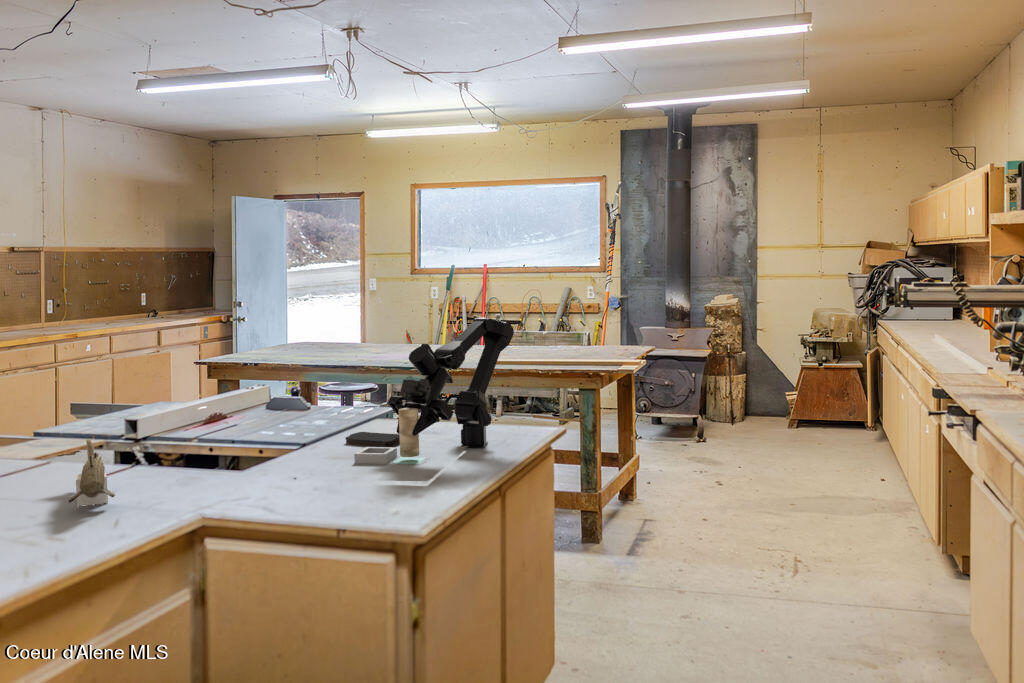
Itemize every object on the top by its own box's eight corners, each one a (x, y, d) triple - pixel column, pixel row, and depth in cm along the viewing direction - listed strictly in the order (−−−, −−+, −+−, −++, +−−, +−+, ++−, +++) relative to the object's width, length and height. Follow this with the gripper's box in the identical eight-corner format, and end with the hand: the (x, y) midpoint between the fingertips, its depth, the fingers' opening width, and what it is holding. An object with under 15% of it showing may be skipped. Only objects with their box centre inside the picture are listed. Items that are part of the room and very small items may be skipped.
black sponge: (405, 447, 239) (404, 434, 239) (388, 452, 231) (387, 439, 231) (359, 443, 246) (358, 431, 246) (341, 448, 239) (341, 436, 238)
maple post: (419, 452, 217) (418, 407, 216) (419, 456, 212) (417, 410, 211) (400, 453, 217) (399, 408, 216) (399, 457, 212) (398, 411, 211)
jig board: (431, 461, 219) (430, 448, 218) (421, 469, 210) (420, 455, 209) (366, 459, 222) (366, 446, 222) (353, 467, 213) (353, 453, 213)
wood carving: (112, 481, 203) (110, 436, 202) (117, 516, 172) (114, 463, 171) (71, 485, 199) (68, 440, 198) (68, 522, 168) (64, 468, 167)
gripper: (390, 366, 221) (363, 412, 213) (444, 369, 211) (417, 418, 203) (411, 391, 229) (385, 437, 220) (464, 395, 218) (439, 444, 210)
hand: (405, 434), depth 213 cm, fingers closed on maple post, 5 cm apart
